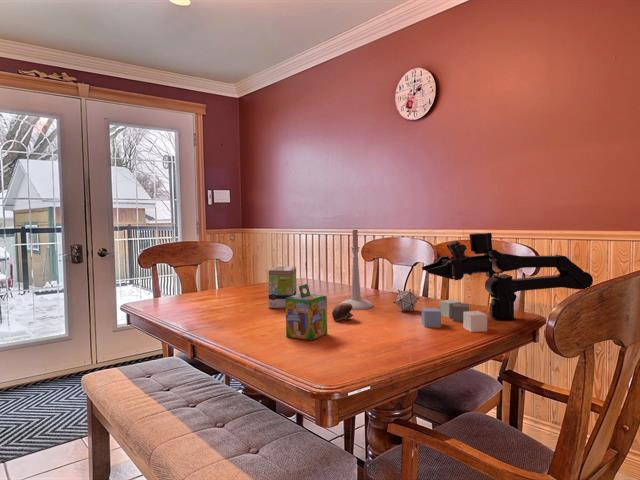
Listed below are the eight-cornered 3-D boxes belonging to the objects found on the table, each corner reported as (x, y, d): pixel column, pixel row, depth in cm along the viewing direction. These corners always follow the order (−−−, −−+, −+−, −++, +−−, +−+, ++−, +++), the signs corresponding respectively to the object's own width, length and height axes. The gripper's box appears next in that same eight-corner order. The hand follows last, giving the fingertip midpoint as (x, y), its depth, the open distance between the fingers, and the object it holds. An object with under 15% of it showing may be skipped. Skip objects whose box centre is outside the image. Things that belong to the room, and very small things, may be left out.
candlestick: (378, 304, 165) (377, 228, 163) (363, 311, 154) (362, 229, 153) (349, 301, 172) (348, 228, 170) (333, 307, 161) (332, 229, 160)
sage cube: (451, 313, 148) (451, 299, 148) (461, 316, 143) (461, 302, 143) (439, 315, 146) (439, 300, 146) (449, 318, 142) (449, 303, 141)
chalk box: (311, 341, 117) (310, 288, 116) (285, 337, 122) (283, 286, 121) (328, 333, 125) (327, 284, 124) (303, 329, 129) (302, 282, 129)
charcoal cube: (468, 318, 140) (469, 303, 140) (469, 322, 136) (469, 306, 135) (453, 317, 142) (453, 303, 142) (452, 321, 137) (452, 306, 137)
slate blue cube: (437, 323, 135) (437, 307, 135) (441, 327, 130) (441, 311, 130) (421, 323, 135) (421, 308, 135) (424, 327, 130) (424, 311, 130)
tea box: (294, 308, 161) (293, 269, 161) (268, 308, 161) (267, 270, 161) (297, 300, 176) (296, 265, 176) (273, 300, 176) (272, 265, 176)
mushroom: (361, 309, 143) (350, 294, 142) (353, 322, 136) (342, 308, 135) (344, 317, 147) (333, 303, 146) (336, 331, 141) (324, 317, 140)
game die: (411, 322, 152) (419, 303, 145) (388, 313, 153) (396, 294, 147) (415, 306, 158) (423, 287, 152) (393, 297, 160) (401, 279, 154)
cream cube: (479, 327, 130) (479, 311, 129) (487, 331, 125) (487, 314, 124) (463, 327, 129) (463, 311, 129) (470, 332, 124) (470, 315, 124)
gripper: (462, 239, 149) (417, 244, 149) (479, 241, 130) (428, 247, 131) (465, 271, 149) (420, 275, 150) (482, 277, 130) (431, 282, 131)
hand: (424, 269), depth 140 cm, fingers open, 9 cm apart
